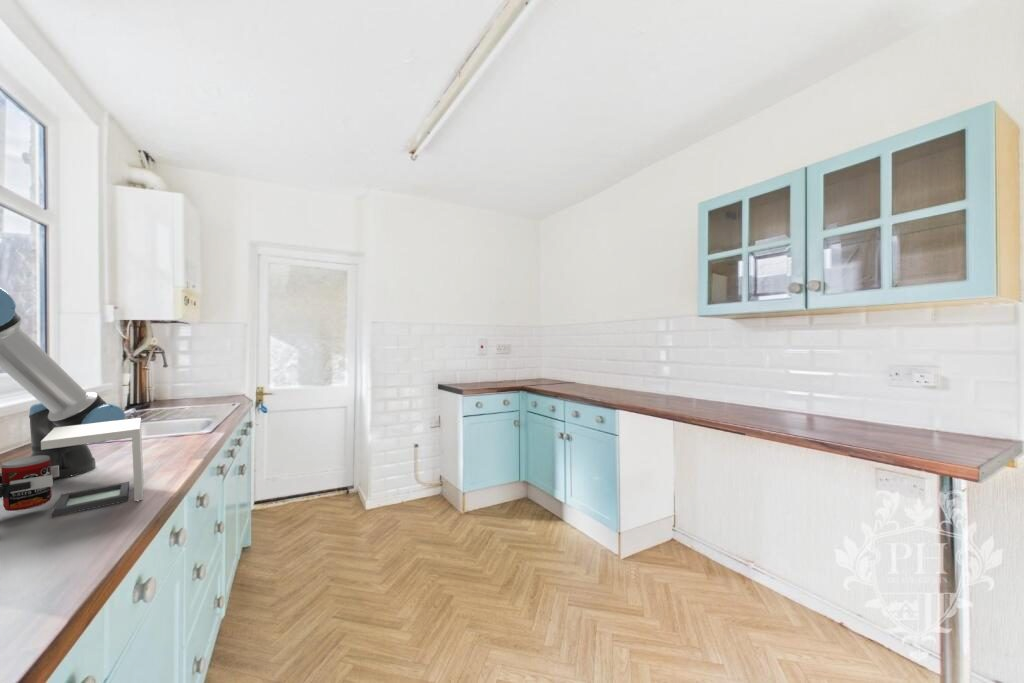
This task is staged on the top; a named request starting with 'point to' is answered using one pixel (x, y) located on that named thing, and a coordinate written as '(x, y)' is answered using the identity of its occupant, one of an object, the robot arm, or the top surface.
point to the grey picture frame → (91, 498)
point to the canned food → (25, 470)
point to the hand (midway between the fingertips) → (55, 475)
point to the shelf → (100, 434)
